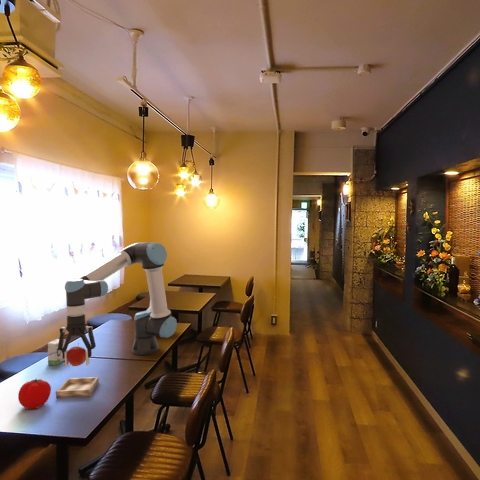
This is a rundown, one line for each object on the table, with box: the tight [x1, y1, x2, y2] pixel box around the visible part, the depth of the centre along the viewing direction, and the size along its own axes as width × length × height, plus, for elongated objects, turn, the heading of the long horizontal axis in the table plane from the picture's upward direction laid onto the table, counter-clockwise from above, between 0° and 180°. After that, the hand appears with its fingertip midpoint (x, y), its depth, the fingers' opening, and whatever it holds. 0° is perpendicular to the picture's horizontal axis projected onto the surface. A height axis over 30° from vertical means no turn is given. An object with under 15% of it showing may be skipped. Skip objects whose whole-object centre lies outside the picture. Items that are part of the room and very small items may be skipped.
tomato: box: [18, 378, 52, 410], centre depth 157 cm, size 12×12×11 cm
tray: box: [55, 376, 100, 399], centre depth 171 cm, size 14×14×3 cm
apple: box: [67, 342, 87, 367], centre depth 170 cm, size 8×8×10 cm
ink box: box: [47, 338, 66, 366], centre depth 206 cm, size 9×5×12 cm, turn 168°
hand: (77, 364), depth 170 cm, fingers closed on apple, 8 cm apart
